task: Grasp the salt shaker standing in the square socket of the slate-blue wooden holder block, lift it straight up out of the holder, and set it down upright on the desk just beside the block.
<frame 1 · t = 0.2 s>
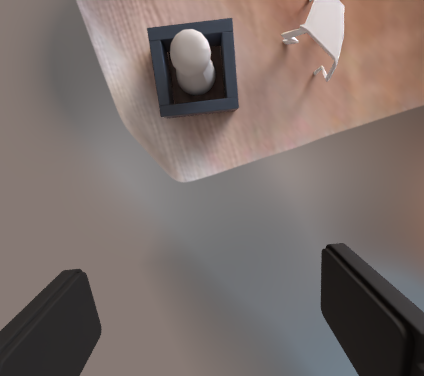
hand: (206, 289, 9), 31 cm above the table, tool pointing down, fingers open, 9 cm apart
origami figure: (309, 43, 35), on the table
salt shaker: (197, 77, 36), resting in holder
holder: (196, 77, 36), on the table
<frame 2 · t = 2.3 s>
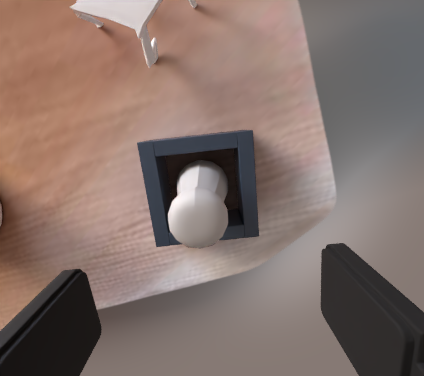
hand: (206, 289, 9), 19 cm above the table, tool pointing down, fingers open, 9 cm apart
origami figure: (154, 19, 24), on the table
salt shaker: (202, 180, 28), resting in holder
holder: (202, 181, 28), on the table
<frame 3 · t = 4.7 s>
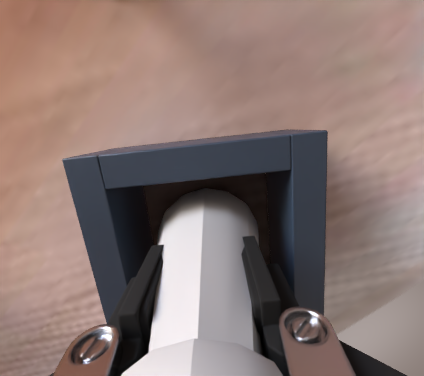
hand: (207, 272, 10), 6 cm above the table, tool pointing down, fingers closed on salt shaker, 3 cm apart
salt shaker: (209, 220, 16), resting in holder, touching gripper
holder: (208, 221, 16), on the table
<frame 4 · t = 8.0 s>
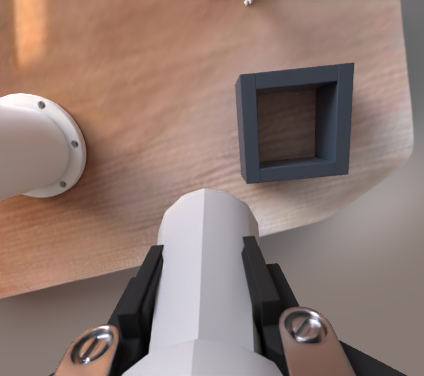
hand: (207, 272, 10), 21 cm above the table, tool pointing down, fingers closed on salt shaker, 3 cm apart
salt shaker: (209, 220, 16), point 15 cm above the table, touching gripper
holder: (282, 127, 28), on the table
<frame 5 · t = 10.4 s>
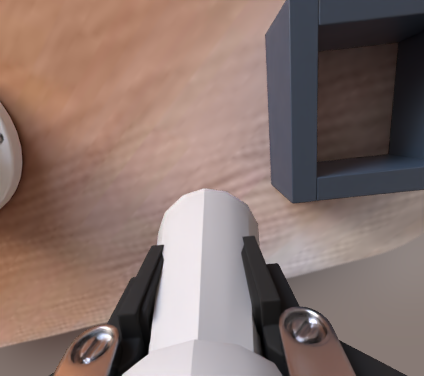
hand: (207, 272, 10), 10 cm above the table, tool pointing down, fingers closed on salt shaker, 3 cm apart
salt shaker: (209, 220, 16), point 4 cm above the table, touching gripper
holder: (340, 107, 18), on the table
when the fingers open (6 cm above the table, at t = 11.7 s): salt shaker stays where it is, on the table.
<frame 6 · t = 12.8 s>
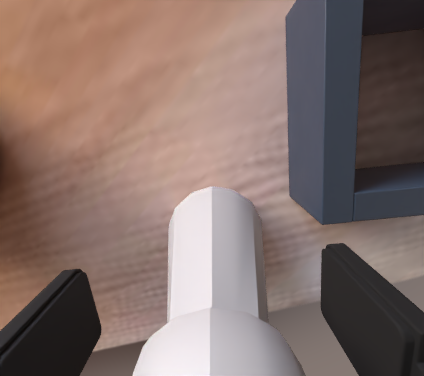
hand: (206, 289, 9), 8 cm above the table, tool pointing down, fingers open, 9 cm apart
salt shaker: (215, 216, 17), on the table
holder: (374, 105, 15), on the table
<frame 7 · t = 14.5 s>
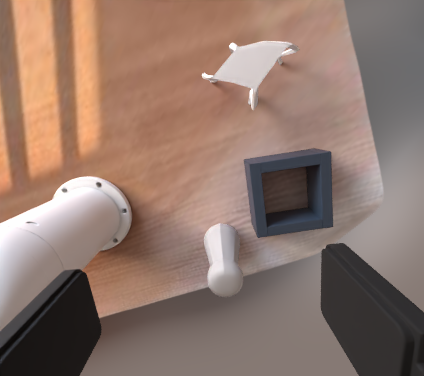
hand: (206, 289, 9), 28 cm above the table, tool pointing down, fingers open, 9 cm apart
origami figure: (250, 73, 33), on the table
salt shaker: (221, 234, 39), on the table
holder: (281, 187, 37), on the table
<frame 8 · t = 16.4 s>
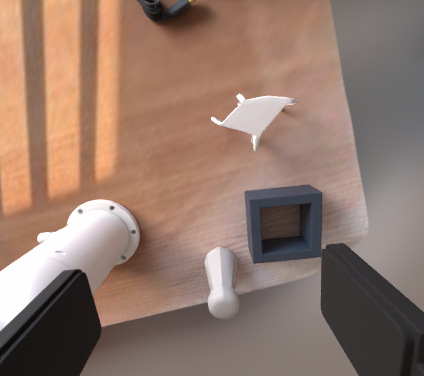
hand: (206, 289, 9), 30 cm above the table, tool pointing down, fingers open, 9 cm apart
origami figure: (254, 117, 37), on the table
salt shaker: (220, 255, 43), on the table
holder: (277, 217, 41), on the table
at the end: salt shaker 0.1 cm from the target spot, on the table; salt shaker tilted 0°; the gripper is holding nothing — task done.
